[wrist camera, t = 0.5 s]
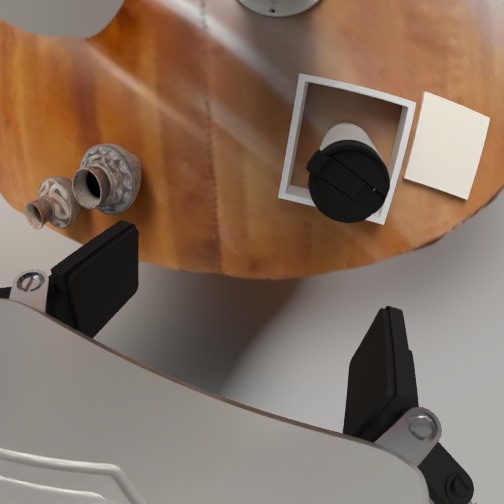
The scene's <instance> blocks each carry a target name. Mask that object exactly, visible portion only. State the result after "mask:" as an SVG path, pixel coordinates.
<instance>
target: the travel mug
mask: <svg viewBox="0 0 504 504" xmlns="http://www.w3.org/2000/svg"><path fill="white" fill-rule="evenodd" d="M306 170H307V171H309V172H310V175H309V182H308V185H309V192H310V196H311V199H312V201H313V202H314V204H315V206H316V207H317V208H318V209H319V211H320V212H322V213H323V214H324V215H325V216H327V217H329V218H331V219H333V220H336V221H339V222H344V223H355V222H360V221H363V220H365V219H367V218H368V217H370V216H371V214H374V213H376V212H377V211H378V210H379V209H380V208H381V207H382V205H383V204H384V202H385V199H386V197H387V195H388V192H389V189H390V178H389V173H388V170H387V168H386V166H385V164H384V162H383V160H382V158H381V156H380V154H379V153H378V151H377V150H376V148H375V146H374V145H373V143H372V142H371V140H370V139H369V137H368V136H367V134H366V133H365V131H364V130H363V129H361V128H360V127H359V126H357V125H355V124H352V123H340V124H337V125H335V126H333V127H332V128H330V129H329V130H328V132H327V133H326V135H325V137H324V139H323V141H322V144H321V146H320V148H319V150H318V151H316V152H315V153H314V155H313V156H312V157H311V159H310V160H309V162H308V164H307V167H306Z"/></svg>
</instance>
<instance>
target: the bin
mask: <svg viewBox="0 0 504 504" xmlns="http://www.w3.org/2000/svg"><path fill="white" fill-rule="evenodd" d="M308 83H314V84H319V85H324V86H329V87H333V88H338V89H342V90H347V91H351V92H355V93H359V94H363V95H366V96H370V97H374V98H378V99H381V100H385V101H388V102H391V103H395V104H398V105H401V106H402V111H401V116H400V120H399V125H398V129H397V134H396V138H395V142H394V146H393V150H392V154H391V158H390V162H389V166H388V173H389V178H390V189H389V192H388V195H387V197H386V199H385V202H384V204H383V205H382V207H381V208H380V209H379V210H378V211H377V212H376V213H374V214H371V216H370V217H368V218H367V219H365V220H368V221H372V222H375V223H379V224H383V225H384V223H385V220H386V217H387V213H388V210H389V207H390V204H391V200H392V197H393V194H394V190H395V187H396V183H397V180H398V176H399V173H400V169H401V165H402V161H403V158H404V154H405V150H406V146H407V142H408V138H409V133H410V129H411V125H412V120H413V116H414V111H415V106H416V103H415V102H412V101H409V100H406V99H403V98H400V97H397V96H393V95H390V94H387V93H383V92H380V91H376V90H372V89H369V88H365V87H361V86H357V85H353V84H349V83H344V82H340V81H336V80H331V79H326V78H321V77H316V76H311V75H306V74H300V73H299V79H298V85H297V91H296V97H295V103H294V109H293V115H292V121H291V127H290V133H289V138H288V144H287V150H286V156H285V162H284V167H283V173H282V179H281V184H280V190H279V196H278V198H281V199H285V200H290V201H294V202H298V203H302V204H306V205H310V206H314V207H316V206H315V204H314V202H313V201H312V199H311V196H310V192H309V189H306V188H302V187H297V186H293V185H290V184H291V178H292V173H293V168H294V162H295V157H296V151H297V146H298V140H299V135H300V129H301V123H302V118H303V112H304V106H305V100H306V94H307V89H308Z"/></svg>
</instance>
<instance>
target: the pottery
mask: <svg viewBox="0 0 504 504" xmlns="http://www.w3.org/2000/svg"><path fill="white" fill-rule="evenodd" d="M141 175H142V167H141V163H140V161H139V159H138V158H137V157H136V156H135V155H133V154H131V153H130V152H129V151H128V150H126V149H125V148H123V147H121V146H119V145H115V144H99V145H95V146H93V147H91V148H90V149H89V150H88V151H87V152H86V153H85V155H84V156H83V158H82V161H81V164H80V169H79V170H77V171H76V173H75V174H74V176H73V179H72V180H70V179H68V178H65V177H49V178H46V179H45V180H44V181H43V182H42V183H41V185H40V188H39V193H38V200H36V201H32V202H28V203H27V204H26V206H25V214H26V217H27V220H28V222H29V223H30V225H31V226H32V227H33V228H35V229H40V228H42V226H43V225H44V224H45V223H46V222H47V221H48V222H49V223H51V224H52V225H53V226H55V227H57V228H60V229H64V228H67V227H68V226H69V225H70V224H71V223H72V222H73V221H74V220H75V219H76V217H77V215H78V214H79V211H80V209H81V206H83V207H85V208H87V209H94V208H96V209H98V210H99V211H101V212H103V213H105V214H110V215H115V214H119V213H122V212H123V211H125V210H126V209H127V208H128V207H129V206H130V205H131V204H132V203H133V202H134V200H135V199H136V196H137V194H138V192H139V189H140V185H141Z"/></svg>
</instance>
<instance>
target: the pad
mask: <svg viewBox="0 0 504 504" xmlns="http://www.w3.org/2000/svg"><path fill="white" fill-rule="evenodd" d="M489 120H490V118H488V117H486V116H484V115H482V114H480V113H477V112H475V111H473V110H471V109H468V108H466V107H464V106H461V105H459V104H456V103H454V102H452V101H449V100H446V99H444V98H441V97H439V96H436V95H433V94H431V93H428V92H425V91H423V94H422V99H421V104H420V108H419V113H418V118H417V122H416V127H415V131H414V135H413V139H412V143H411V147H410V151H409V155H408V159H407V163H406V167H405V170H404V174H403V177H404V178H405V179H408V180H411V181H414V182H418V183H421V184H424V185H427V186H430V187H433V188H436V189H439V190H441V191H444V192H447V193H450V194H453V195H456V196H458V197H461V198H464V199H466V200H467V199H468V196H469V193H470V190H471V187H472V184H473V181H474V177H475V174H476V171H477V167H478V164H479V160H480V157H481V153H482V149H483V146H484V142H485V138H486V133H487V129H488V125H489Z"/></svg>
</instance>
